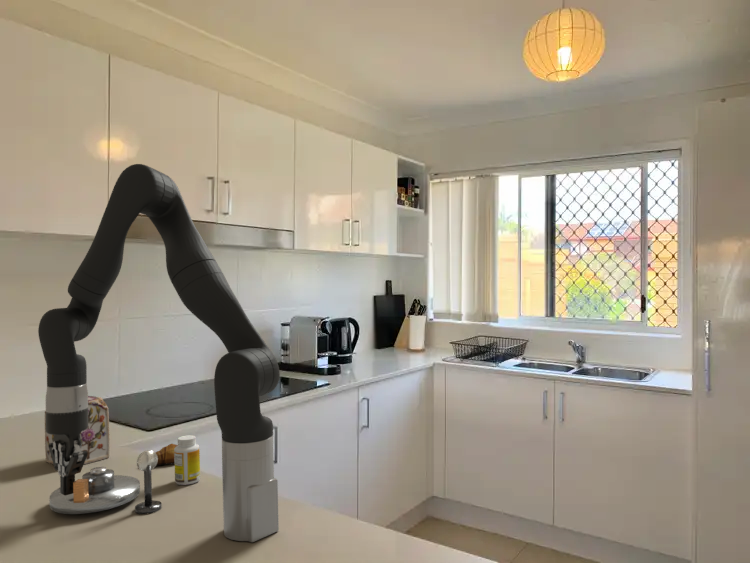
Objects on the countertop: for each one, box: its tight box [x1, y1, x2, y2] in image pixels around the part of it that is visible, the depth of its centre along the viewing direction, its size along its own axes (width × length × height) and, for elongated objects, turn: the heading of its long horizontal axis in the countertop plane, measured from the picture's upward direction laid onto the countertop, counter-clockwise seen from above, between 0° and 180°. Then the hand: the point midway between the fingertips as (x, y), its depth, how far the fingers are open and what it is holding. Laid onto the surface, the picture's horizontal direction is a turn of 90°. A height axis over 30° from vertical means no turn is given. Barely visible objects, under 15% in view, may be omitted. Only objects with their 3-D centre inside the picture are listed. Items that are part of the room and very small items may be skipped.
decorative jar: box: [44, 395, 111, 465], centre depth 150 cm, size 12×12×18 cm
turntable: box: [49, 474, 141, 515], centre depth 119 cm, size 17×17×6 cm
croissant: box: [154, 443, 178, 467], centre depth 146 cm, size 14×7×5 cm, turn 122°
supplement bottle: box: [174, 434, 201, 486], centre depth 131 cm, size 6×6×10 cm
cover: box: [81, 466, 115, 494], centre depth 119 cm, size 6×6×4 cm
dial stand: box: [134, 449, 163, 515], centre depth 115 cm, size 5×5×12 cm
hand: (67, 493), depth 114 cm, fingers closed
